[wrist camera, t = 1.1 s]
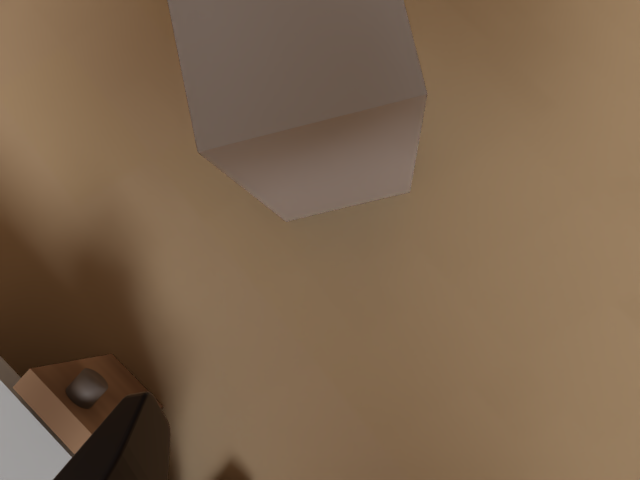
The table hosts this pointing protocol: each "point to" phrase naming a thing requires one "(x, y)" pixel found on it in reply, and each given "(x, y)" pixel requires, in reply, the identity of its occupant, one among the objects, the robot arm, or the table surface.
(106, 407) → the trapdoor frame
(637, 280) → the table surface
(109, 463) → the robot arm
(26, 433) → the trapdoor
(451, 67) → the table surface
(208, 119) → the tall grey rectangular block
